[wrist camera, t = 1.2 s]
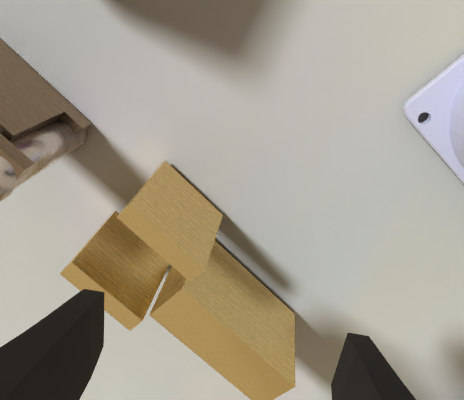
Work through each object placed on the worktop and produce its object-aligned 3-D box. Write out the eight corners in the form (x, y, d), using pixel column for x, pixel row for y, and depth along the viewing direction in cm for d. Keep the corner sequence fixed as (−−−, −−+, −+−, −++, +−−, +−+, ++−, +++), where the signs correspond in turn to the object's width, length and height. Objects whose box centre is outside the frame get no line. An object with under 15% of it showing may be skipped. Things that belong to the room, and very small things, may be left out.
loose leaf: (314, 301, 23) (319, 372, 19) (248, 344, 25) (239, 419, 21) (165, 160, 21) (130, 203, 16) (105, 220, 23) (59, 273, 18)
